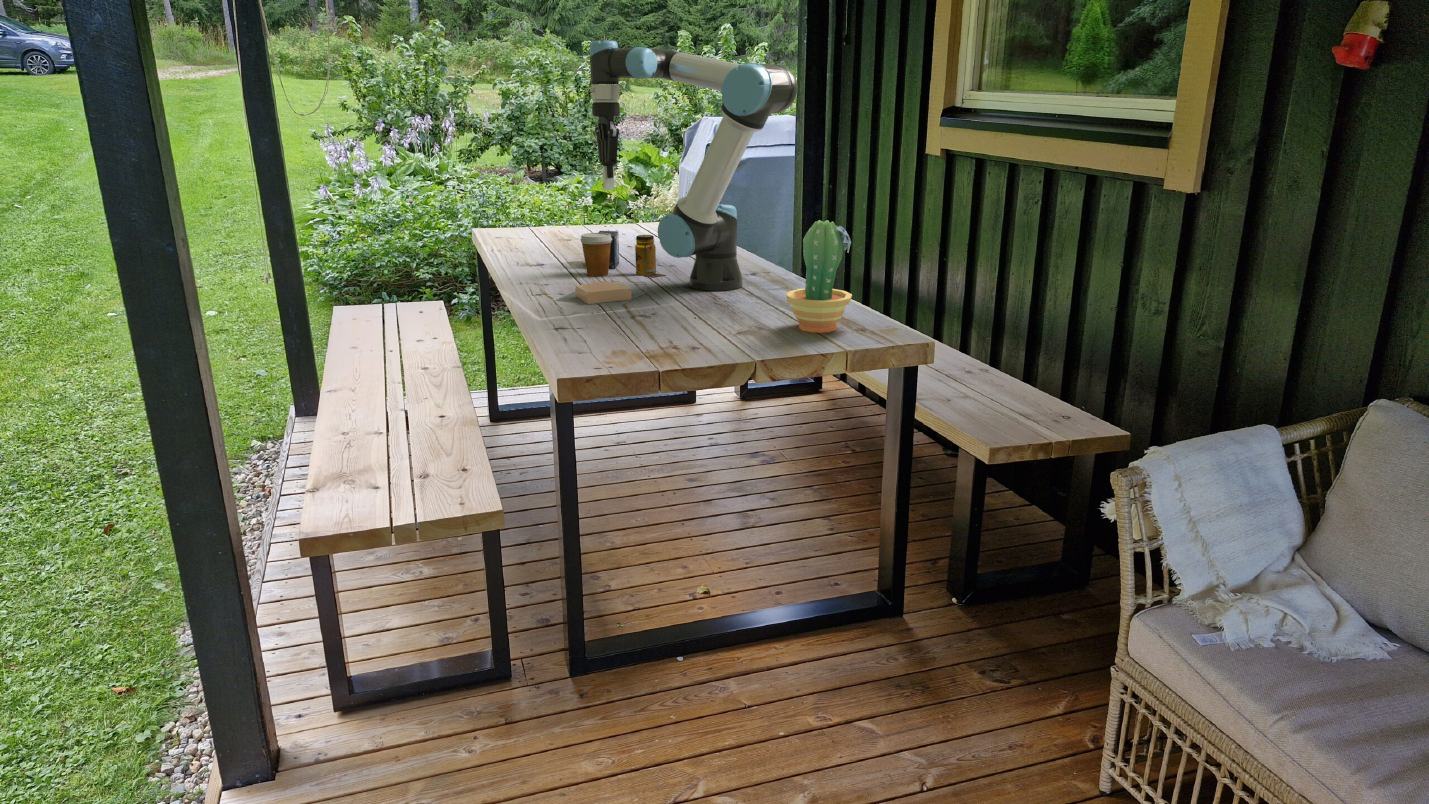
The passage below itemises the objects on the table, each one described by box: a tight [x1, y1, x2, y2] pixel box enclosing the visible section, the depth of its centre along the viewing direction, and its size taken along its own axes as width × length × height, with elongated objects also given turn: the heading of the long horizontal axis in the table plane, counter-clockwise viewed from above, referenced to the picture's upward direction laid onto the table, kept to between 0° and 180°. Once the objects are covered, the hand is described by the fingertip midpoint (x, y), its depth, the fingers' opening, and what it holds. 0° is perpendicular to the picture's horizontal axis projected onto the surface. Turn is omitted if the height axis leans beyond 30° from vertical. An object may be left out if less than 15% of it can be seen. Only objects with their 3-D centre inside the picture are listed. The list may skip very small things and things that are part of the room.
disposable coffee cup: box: [579, 232, 612, 278], centre depth 276 cm, size 10×10×12 cm
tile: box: [574, 280, 632, 305], centre depth 244 cm, size 3×12×10 cm
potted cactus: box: [785, 219, 853, 334], centre depth 214 cm, size 16×15×25 cm
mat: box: [554, 290, 647, 307], centre depth 247 cm, size 19×17×1 cm
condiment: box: [633, 234, 666, 279], centre depth 276 cm, size 7×8×12 cm
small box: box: [597, 230, 620, 270], centre depth 290 cm, size 11×6×10 cm, turn 179°
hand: (609, 189), depth 259 cm, fingers closed
